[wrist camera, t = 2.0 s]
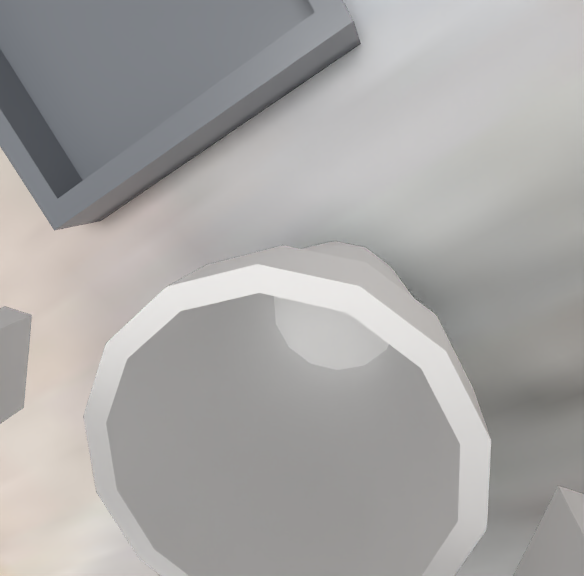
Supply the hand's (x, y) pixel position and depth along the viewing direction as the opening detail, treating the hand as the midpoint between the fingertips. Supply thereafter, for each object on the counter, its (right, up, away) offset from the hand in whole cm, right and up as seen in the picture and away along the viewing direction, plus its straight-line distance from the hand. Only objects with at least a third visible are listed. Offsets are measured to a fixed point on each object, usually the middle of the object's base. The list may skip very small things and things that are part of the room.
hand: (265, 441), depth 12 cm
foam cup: (+3, +3, +12) cm, 12 cm away
